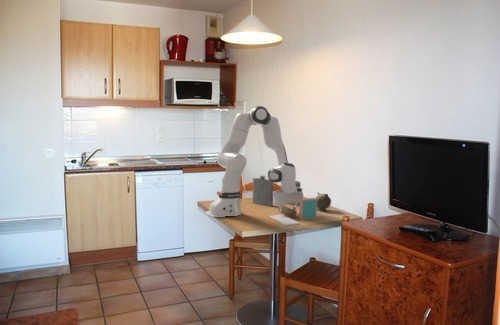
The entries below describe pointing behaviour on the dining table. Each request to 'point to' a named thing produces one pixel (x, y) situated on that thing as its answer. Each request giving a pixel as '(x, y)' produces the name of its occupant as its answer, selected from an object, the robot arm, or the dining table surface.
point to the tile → (308, 208)
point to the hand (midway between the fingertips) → (288, 210)
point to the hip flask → (262, 191)
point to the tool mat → (284, 220)
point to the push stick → (288, 212)
